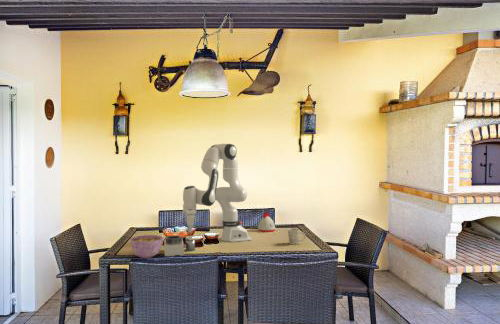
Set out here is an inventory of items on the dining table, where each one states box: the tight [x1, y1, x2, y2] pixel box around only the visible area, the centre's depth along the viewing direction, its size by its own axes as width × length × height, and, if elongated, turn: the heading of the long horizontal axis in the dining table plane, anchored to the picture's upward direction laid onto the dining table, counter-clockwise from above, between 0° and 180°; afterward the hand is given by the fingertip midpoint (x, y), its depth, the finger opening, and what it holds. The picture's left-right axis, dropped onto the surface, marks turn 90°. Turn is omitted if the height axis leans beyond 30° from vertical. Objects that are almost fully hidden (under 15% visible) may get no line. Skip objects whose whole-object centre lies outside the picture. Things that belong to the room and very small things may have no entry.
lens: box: [185, 235, 196, 252], centre depth 282 cm, size 6×6×9 cm
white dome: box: [257, 211, 276, 233], centre depth 345 cm, size 14×14×15 cm
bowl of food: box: [130, 234, 164, 259], centre depth 266 cm, size 20×20×12 cm
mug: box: [287, 227, 307, 245], centre depth 299 cm, size 8×13×10 cm, turn 91°
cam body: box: [163, 235, 185, 257], centre depth 276 cm, size 12×18×10 cm
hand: (189, 231), depth 281 cm, fingers open, 8 cm apart
